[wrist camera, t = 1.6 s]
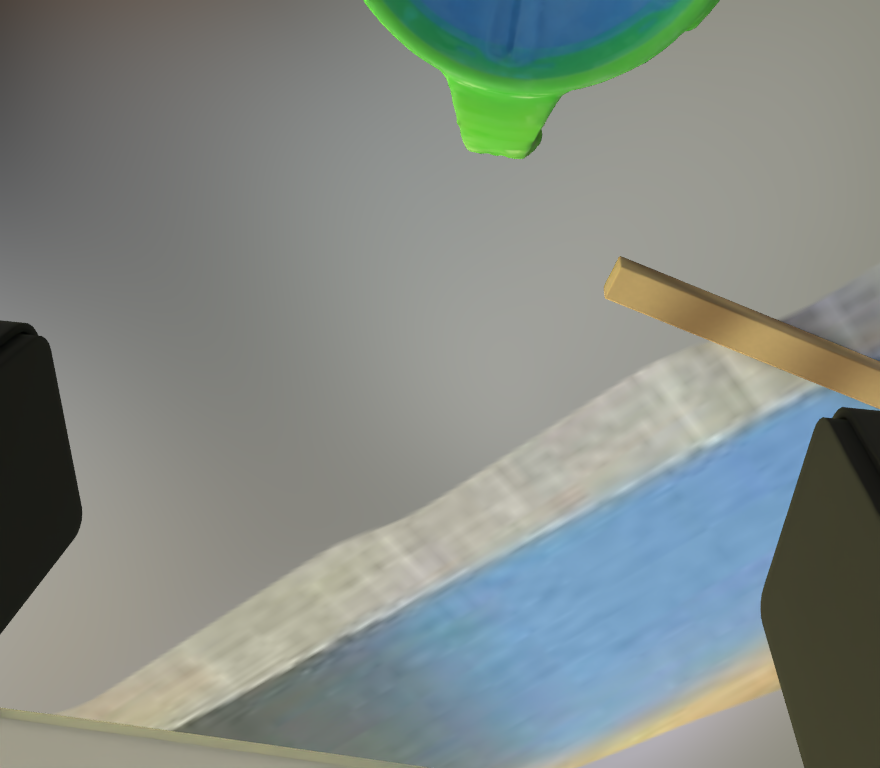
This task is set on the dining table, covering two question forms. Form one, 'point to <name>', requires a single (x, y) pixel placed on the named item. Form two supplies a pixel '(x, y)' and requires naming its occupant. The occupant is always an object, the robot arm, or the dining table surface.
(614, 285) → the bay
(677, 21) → the snack cup
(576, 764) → the dining table surface
